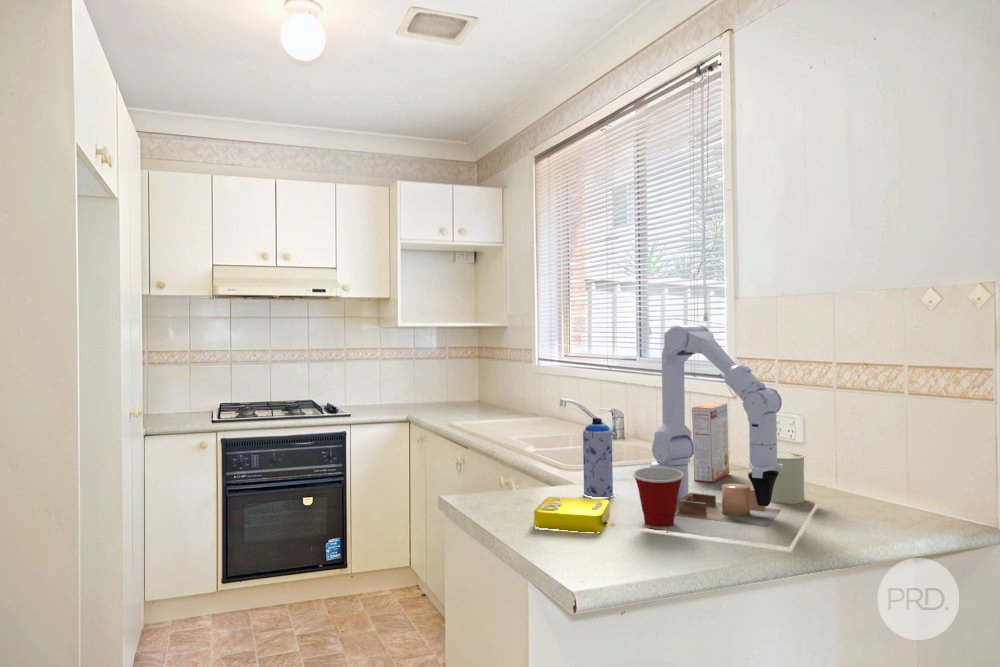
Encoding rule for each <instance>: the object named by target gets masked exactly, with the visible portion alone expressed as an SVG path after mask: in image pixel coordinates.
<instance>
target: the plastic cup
mask: <svg viewBox="0 0 1000 667" xmlns="http://www.w3.org/2000/svg"><path fill="white" fill-rule="evenodd" d="M632 477H633V478H634V479H635V482H636V485H637V488H638V493H639V498H640V499H639V500H640V504H641V510H642V511H641V512H642V514H643V518H644V524H645V525H646V526H649V527H648V529H650V530H654V531H664V529H661V528H668V527H672V526H673V525H674V523H675V518H676V517H675V515H676V514H677V513H676V512H677V504H678V501H679V500H678V493H679V489H680V484H681V480H682V478H683V477H684V474H683V472H681V471H680V470H677V469H673V468H666V467H650V466H649V467H641V468H639V469H636V470H634V471H633V472H632Z"/></svg>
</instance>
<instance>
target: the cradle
mask: <svg viewBox="0 0 1000 667" xmlns="http://www.w3.org/2000/svg"><path fill="white" fill-rule="evenodd" d="M716 496H717V495H716V494H706V493H698V492H697V493H696V492H689V494H688V495H686V496H685V497H684V498H680V499H679V500H678V512H677V513H675V516H677V517H684V518H692V519H700V520H709V521H718V522H726V523H731V524H732V523H733V524H740V525H750V526H751V525H752V526H758V527H765V528H768V527H769V526H771V524H772V523H773V521H774V520H775V518H776V517H777V515H779V513H780V512H781V511H782V509H780V508H773V507H772V508H771V507H766V511H765V512H763V511H755V510H750V515H749V516H743V517H737V516H729V515H726V514H723V513H722V502H717V497H716Z"/></svg>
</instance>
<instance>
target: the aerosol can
mask: <svg viewBox="0 0 1000 667" xmlns="http://www.w3.org/2000/svg"><path fill="white" fill-rule="evenodd" d="M582 447H583V448H582V450H583V451H582V453H583V455H582V457H583V459H582V460H583V493H584V494H585V495H587V496H592V497H611V496H613V495H614V484H613V483H614V481H613V480H614V478H613V477H614V476H613V475H614V474H613V433H612V429H611V428H610V427H609V426H608V425H606V424H605V423H604V422H602V418H600V417H594V418H592V422H590V423H589V424H587V425H586V427H585V428H584V429H583V431H582Z"/></svg>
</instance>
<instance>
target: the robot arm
mask: <svg viewBox="0 0 1000 667" xmlns="http://www.w3.org/2000/svg"><path fill="white" fill-rule="evenodd" d="M663 336H664V337H663V338H664V344H663V348H662V349H663V350H662V352H661V391H662V392H661V404H662V405H661V406H662V409H661V410H662V414H661V415H662V416H661V417H662V420H661V421H662V423H661V425H660V427H659V428H657V430H655V432H654V439H653V442H652V444H651V452H652V456H653V458H654V459H655V460H656V461H652V462H651V463H650V465H649V467H666V468H673V469H677V470H680V471H681V472H683V474H684V477H683V478H682V480H681V484H680V489H679V493H678V499H679V500H680V499H682V498H684V497H685V496H686V495H688V494H689V493H690V491H689V490H690V489H689V463H691V458H692V457H693V454H694V450H695V447H694V443H693V436H692V431H691V429H690V428H689V427H688V426H687V425H686V420H685V419H686V415H685V414H686V413H685V412H686V410H685V408H686V406H685V404H686V402H685V400H686V398H685V396H686V395H685V363H686V361H687V360H689V358H690V357H692V356H693V355H695V354H699V355H700V354H701V355H702V356H704V357H705V358H706V359H707V360H708V361H709V362H711V363H712V364H713V365H714V366H715V367H716V368H717V369H718V370H719V371H720V372H721V373H722V374H723V375H724V382H725V384H726V385H727V386H728V387H729V388H730V389H731V390H732V391H733V392H734V393H735V394H736V395H737V397H738V398H740V400H742V407H743V410H744V411H745V413H746V414H747V421H748V425H749V426H748V429H749V430H748V432H749V433H748V435H749V437H748V438H749V440H748V441H749V442H748V443H749V446H748V447H749V463H748V467H749V468H750V469H751V471H750V472H748V475H747V476H748V479H749V481H750V483H751V485H752V488H753V489H754V491H755V495H756V499H757V503H758V505H759V506H766V507H768V506H769V505H770V503H771V502H772V501H771V497H772V491H773V487H774V483H775V480H776V478H777V476H778V474H779V472H778V471H771V470H773V469H777V468H783V464H778V463H777V452H778V443H777V442H778V439H777V438H778V436H777V435H778V433H777V426H778V425H777V421H778V420H777V413H778V412H780V410H781V408H782V403H783V402H782V397H781V395H780V394H779V392H778V391H777V389H775V388H772V387H767V386H766V384H765V383H764V382H762V381H760V380H759V379H758V378H757V377H756V376H755V375H754V374H753V373H752V369H751V368H750V367H749V366H746V365H743V364H739V365H737V364H736V362H734V361H733V359H732V358H731V357H730V355H728V353H727V352H726V351H725V350H724V348H723V347H721V345H720V344H719V343H718V342H717V341H716V339H715V336H714V334H713V332H711V331H710V330H709V329H708V327H707V326H706V325H703V324H697V325H678V324H676V325H672V326H671V327H669V329H668V330H667V331H666V332H665V333H664V334H663Z"/></svg>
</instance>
